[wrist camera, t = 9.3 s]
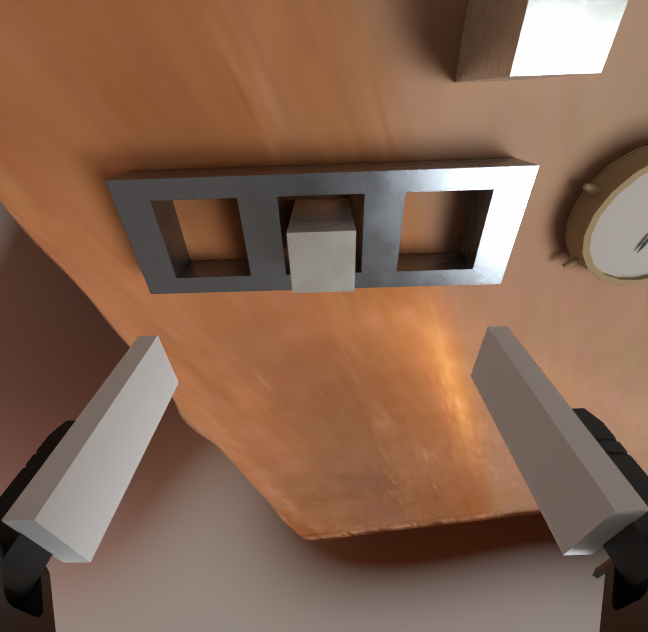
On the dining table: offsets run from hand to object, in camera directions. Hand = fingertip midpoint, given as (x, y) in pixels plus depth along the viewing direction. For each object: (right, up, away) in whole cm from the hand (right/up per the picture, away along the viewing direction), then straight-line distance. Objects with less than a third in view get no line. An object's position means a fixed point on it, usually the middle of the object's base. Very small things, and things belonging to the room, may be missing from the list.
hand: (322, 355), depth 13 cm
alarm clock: (+29, +11, +15) cm, 34 cm away
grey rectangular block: (0, +10, +15) cm, 18 cm away
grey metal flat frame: (0, +10, +15) cm, 18 cm away
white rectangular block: (+12, +20, +8) cm, 25 cm away
